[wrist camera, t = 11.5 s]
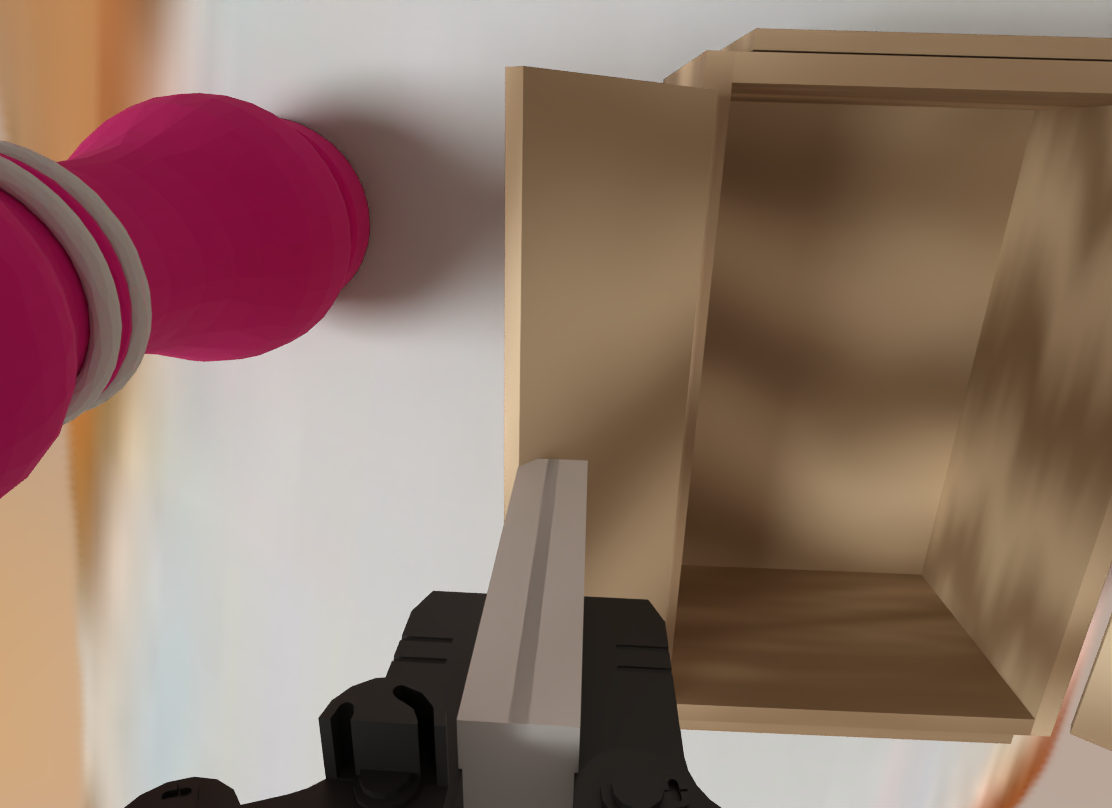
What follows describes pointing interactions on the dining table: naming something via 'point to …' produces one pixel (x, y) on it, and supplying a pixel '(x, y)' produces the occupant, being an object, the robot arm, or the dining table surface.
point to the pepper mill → (162, 254)
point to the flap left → (605, 301)
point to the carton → (896, 386)
